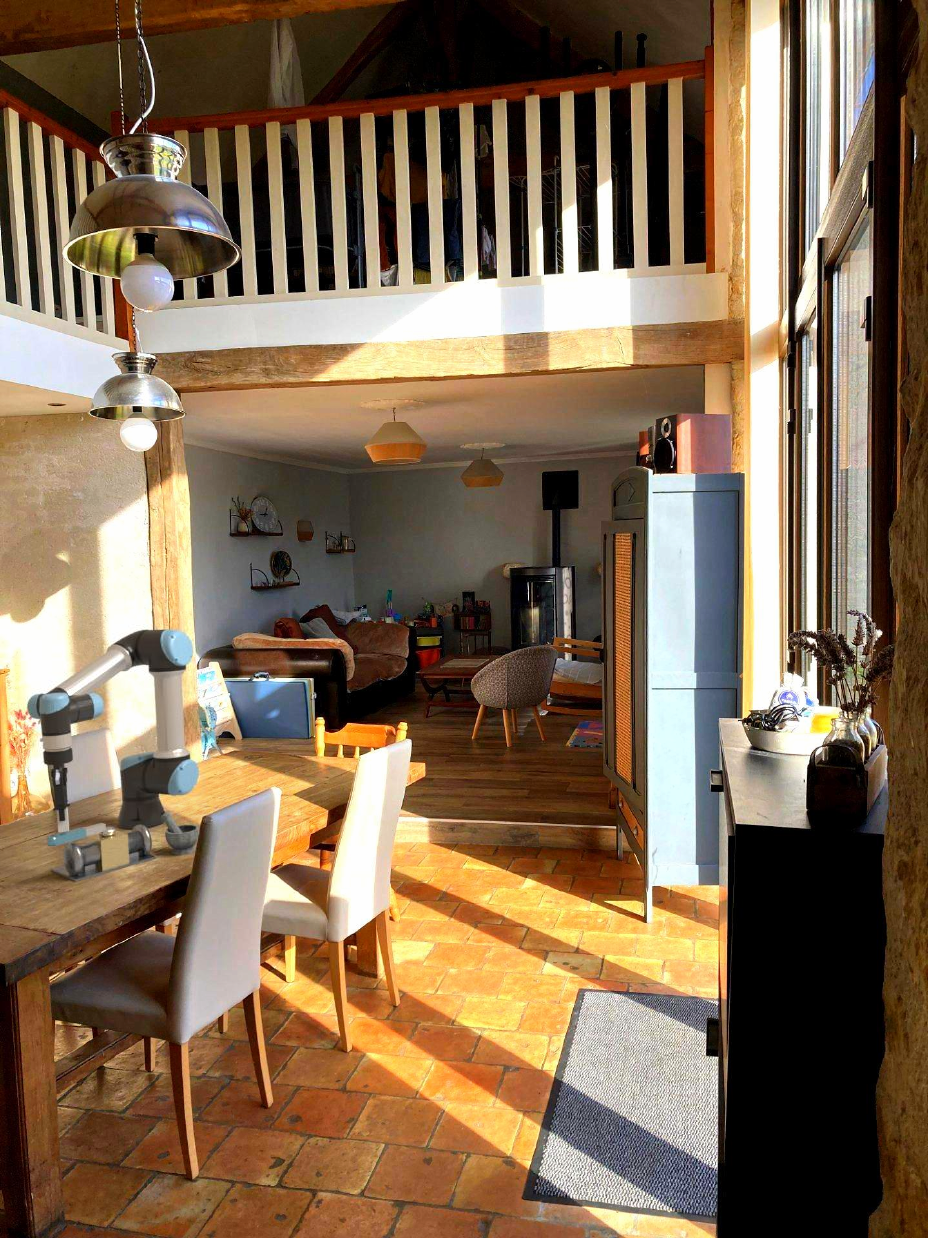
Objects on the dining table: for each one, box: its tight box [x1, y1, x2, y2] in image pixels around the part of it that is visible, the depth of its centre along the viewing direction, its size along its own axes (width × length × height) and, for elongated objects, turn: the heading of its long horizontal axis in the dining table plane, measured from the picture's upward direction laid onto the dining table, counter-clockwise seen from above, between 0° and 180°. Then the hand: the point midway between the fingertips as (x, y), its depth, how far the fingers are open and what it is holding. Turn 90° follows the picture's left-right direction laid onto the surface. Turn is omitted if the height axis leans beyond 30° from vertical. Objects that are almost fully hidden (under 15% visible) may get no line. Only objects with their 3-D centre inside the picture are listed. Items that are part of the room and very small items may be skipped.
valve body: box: [50, 824, 157, 882], centre depth 266 cm, size 24×15×10 cm, turn 138°
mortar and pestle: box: [161, 811, 200, 856], centre depth 275 cm, size 11×9×12 cm
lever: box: [46, 822, 116, 847], centre depth 257 cm, size 4×20×4 cm, turn 142°
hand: (63, 831), depth 260 cm, fingers closed
